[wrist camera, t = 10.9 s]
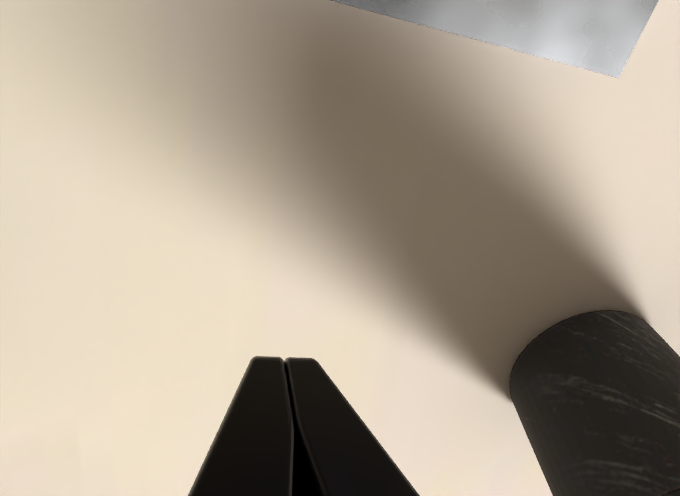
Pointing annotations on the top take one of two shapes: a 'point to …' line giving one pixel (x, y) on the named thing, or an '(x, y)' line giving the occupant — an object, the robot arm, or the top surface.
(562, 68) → the top surface
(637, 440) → the travel mug
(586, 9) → the flange
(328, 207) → the top surface
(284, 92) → the top surface
